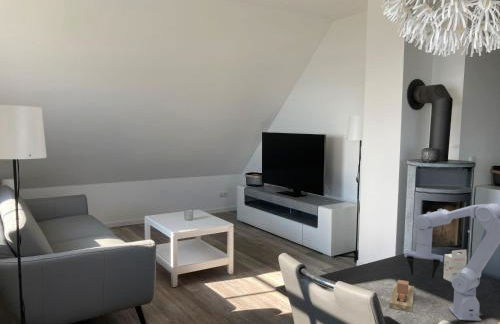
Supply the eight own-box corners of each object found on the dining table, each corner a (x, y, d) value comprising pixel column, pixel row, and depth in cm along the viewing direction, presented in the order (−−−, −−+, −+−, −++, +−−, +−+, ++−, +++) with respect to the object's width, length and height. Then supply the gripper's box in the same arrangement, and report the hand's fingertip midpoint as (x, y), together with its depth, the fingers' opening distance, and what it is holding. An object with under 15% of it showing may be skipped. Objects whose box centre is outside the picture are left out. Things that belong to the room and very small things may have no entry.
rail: (414, 290, 176) (414, 286, 176) (411, 311, 156) (411, 306, 156) (394, 287, 179) (394, 283, 179) (389, 307, 159) (389, 302, 159)
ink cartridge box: (457, 276, 194) (459, 246, 192) (465, 280, 189) (467, 249, 187) (442, 278, 191) (444, 247, 190) (450, 282, 186) (452, 250, 185)
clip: (407, 300, 166) (408, 280, 165) (406, 307, 160) (408, 286, 159) (397, 298, 168) (398, 278, 167) (396, 305, 162) (397, 284, 161)
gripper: (443, 243, 167) (441, 275, 168) (405, 238, 173) (403, 269, 174) (444, 247, 161) (442, 281, 162) (404, 243, 166) (403, 275, 168)
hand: (422, 275), depth 168 cm, fingers open, 7 cm apart
